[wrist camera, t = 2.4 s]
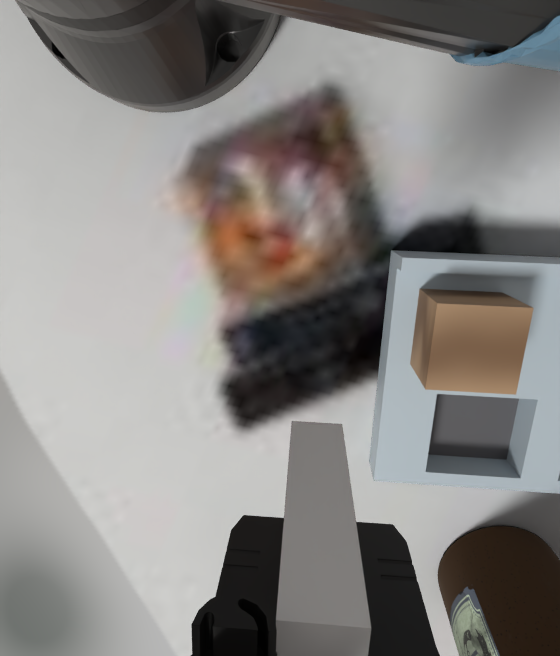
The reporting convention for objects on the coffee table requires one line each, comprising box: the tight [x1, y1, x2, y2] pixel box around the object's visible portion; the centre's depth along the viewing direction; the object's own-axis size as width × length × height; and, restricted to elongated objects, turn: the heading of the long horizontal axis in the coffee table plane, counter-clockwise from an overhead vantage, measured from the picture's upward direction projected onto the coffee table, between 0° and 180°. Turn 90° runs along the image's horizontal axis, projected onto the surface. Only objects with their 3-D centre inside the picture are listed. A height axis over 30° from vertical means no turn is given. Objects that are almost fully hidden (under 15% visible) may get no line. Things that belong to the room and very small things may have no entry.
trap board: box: [369, 250, 560, 494], centre depth 28 cm, size 16×22×6 cm
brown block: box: [410, 289, 534, 395], centre depth 26 cm, size 5×5×4 cm
